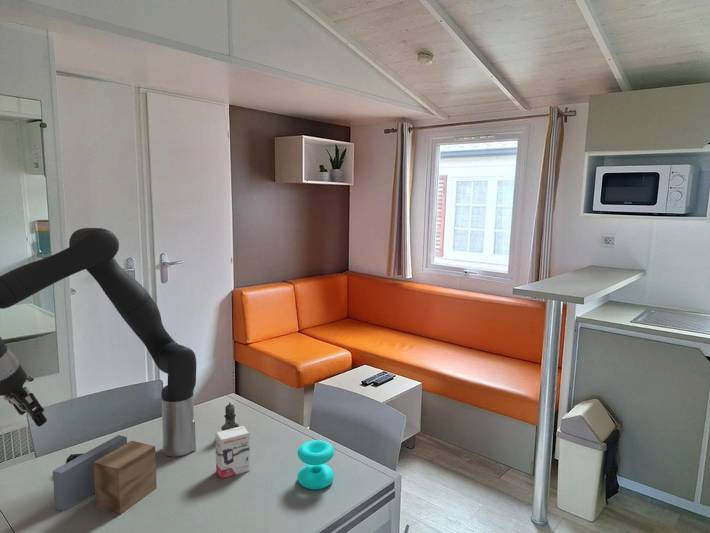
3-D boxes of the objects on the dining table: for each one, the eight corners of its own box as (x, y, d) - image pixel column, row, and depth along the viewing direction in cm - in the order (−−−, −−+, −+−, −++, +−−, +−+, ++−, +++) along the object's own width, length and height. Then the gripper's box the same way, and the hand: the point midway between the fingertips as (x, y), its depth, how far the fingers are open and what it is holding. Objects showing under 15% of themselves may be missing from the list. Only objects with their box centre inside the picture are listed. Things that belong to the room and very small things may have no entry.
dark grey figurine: (219, 434, 157) (219, 400, 155) (237, 431, 159) (237, 397, 158) (222, 442, 151) (222, 407, 150) (241, 439, 154) (240, 404, 152)
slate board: (128, 470, 135) (126, 436, 134) (63, 511, 116) (61, 473, 115) (120, 467, 136) (118, 434, 135) (55, 508, 117) (52, 470, 116)
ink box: (221, 479, 131) (220, 439, 129) (215, 471, 135) (214, 432, 133) (250, 471, 135) (250, 431, 134) (244, 463, 139) (243, 425, 138)
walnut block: (156, 488, 126) (155, 445, 125) (120, 515, 115) (118, 468, 114) (133, 482, 129) (131, 440, 128) (95, 507, 118) (93, 462, 116)
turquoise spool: (317, 434, 137) (341, 446, 130) (317, 467, 138) (341, 481, 131) (290, 446, 130) (314, 460, 123) (290, 480, 131) (314, 496, 124)
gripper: (32, 368, 108) (63, 416, 117) (2, 351, 115) (33, 398, 124) (-2, 391, 103) (33, 439, 112) (-31, 372, 110) (4, 419, 119)
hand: (33, 417), depth 118 cm, fingers open, 8 cm apart
